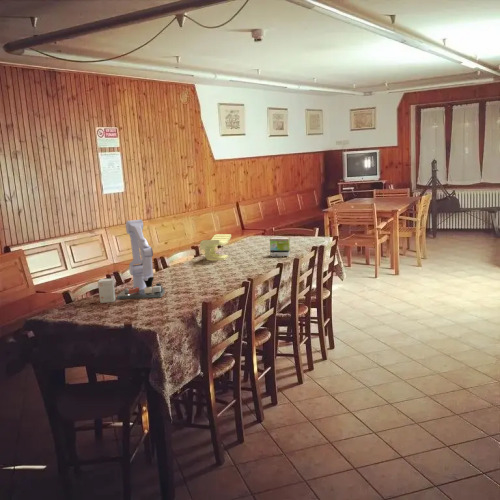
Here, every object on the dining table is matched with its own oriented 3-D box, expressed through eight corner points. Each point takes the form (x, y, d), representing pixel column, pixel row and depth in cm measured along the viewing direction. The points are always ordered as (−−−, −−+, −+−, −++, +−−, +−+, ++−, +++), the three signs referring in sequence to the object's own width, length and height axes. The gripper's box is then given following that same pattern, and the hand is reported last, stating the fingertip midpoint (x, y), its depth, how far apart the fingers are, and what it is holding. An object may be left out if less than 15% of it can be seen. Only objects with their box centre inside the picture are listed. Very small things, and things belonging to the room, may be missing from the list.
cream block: (145, 291, 321) (145, 287, 321) (152, 291, 321) (152, 286, 321) (144, 293, 318) (144, 288, 318) (151, 292, 318) (151, 288, 318)
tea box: (270, 257, 428) (269, 238, 426) (271, 254, 438) (271, 236, 436) (288, 256, 426) (288, 238, 423) (290, 254, 435) (289, 236, 433)
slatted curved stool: (214, 255, 447) (212, 234, 444) (232, 255, 442) (231, 234, 439) (201, 262, 419) (199, 240, 415) (220, 262, 414) (219, 240, 411)
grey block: (154, 291, 323) (154, 286, 322) (161, 290, 323) (160, 285, 322) (153, 292, 320) (153, 287, 319) (160, 292, 320) (159, 287, 319)
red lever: (138, 291, 323) (137, 286, 323) (140, 292, 321) (139, 286, 321) (124, 294, 318) (123, 288, 317) (125, 294, 316) (125, 289, 315)
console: (123, 293, 330) (122, 287, 329) (164, 292, 329) (164, 285, 328) (117, 299, 316) (116, 292, 316) (160, 297, 316) (160, 291, 315)
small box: (115, 299, 316) (113, 278, 314) (114, 302, 310) (112, 280, 308) (101, 300, 316) (99, 278, 314) (99, 303, 310) (97, 281, 307)
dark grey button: (156, 287, 327) (156, 283, 327) (161, 287, 327) (161, 283, 327) (155, 288, 324) (155, 284, 324) (160, 288, 324) (160, 284, 324)
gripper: (143, 265, 327) (145, 287, 330) (138, 270, 313) (140, 292, 315) (155, 265, 327) (156, 286, 329) (150, 269, 313) (152, 292, 315)
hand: (149, 289), depth 322 cm, fingers closed
